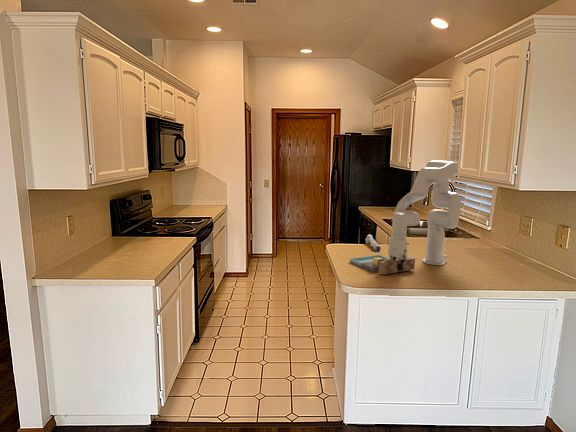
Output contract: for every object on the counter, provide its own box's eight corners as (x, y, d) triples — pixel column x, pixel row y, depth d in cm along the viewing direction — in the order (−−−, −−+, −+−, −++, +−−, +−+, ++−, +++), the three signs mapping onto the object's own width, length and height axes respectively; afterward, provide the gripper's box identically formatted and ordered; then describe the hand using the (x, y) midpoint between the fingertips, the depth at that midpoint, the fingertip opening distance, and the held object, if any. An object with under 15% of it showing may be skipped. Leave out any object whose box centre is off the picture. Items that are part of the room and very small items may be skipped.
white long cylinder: (374, 245, 263) (365, 232, 287) (373, 255, 265) (364, 241, 289) (382, 246, 264) (372, 232, 287) (381, 255, 266) (371, 241, 289)
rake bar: (409, 267, 227) (409, 256, 226) (414, 269, 224) (415, 258, 223) (378, 272, 217) (378, 261, 216) (383, 274, 213) (384, 263, 212)
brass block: (378, 264, 226) (378, 257, 226) (382, 266, 223) (383, 259, 222) (372, 264, 225) (372, 257, 224) (377, 266, 221) (377, 259, 220)
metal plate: (391, 262, 239) (391, 258, 238) (403, 267, 230) (404, 263, 230) (361, 267, 228) (361, 262, 228) (373, 272, 220) (373, 267, 219)
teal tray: (379, 258, 248) (379, 254, 248) (391, 262, 239) (391, 259, 239) (349, 262, 238) (349, 258, 237) (361, 267, 229) (361, 263, 228)
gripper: (382, 233, 222) (381, 265, 226) (405, 240, 208) (402, 274, 211) (393, 232, 226) (391, 263, 229) (415, 238, 211) (413, 272, 215)
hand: (396, 268), depth 220 cm, fingers closed on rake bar, 4 cm apart
